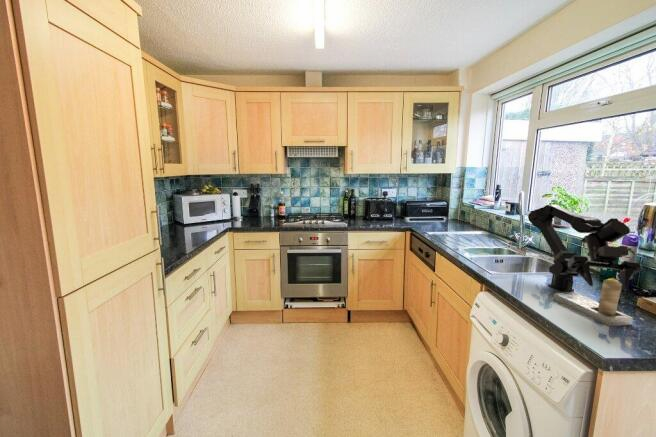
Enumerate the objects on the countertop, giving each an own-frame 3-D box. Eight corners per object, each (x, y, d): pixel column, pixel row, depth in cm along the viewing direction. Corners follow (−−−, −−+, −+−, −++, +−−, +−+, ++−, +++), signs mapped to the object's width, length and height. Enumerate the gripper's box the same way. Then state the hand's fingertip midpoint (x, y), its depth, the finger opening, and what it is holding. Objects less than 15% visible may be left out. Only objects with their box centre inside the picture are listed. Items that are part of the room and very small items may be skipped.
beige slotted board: (553, 299, 113) (554, 293, 113) (572, 298, 115) (573, 292, 115) (608, 326, 95) (610, 319, 94) (631, 324, 96) (632, 317, 96)
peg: (592, 315, 102) (600, 280, 99) (603, 314, 102) (610, 279, 100) (606, 322, 97) (614, 285, 95) (617, 321, 98) (625, 284, 96)
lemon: (609, 294, 120) (613, 275, 119) (623, 300, 114) (627, 281, 113) (596, 294, 120) (600, 275, 118) (609, 300, 114) (613, 280, 113)
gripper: (577, 233, 104) (585, 273, 96) (645, 239, 98) (660, 282, 90) (564, 249, 113) (571, 286, 105) (626, 255, 107) (638, 296, 99)
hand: (608, 287), depth 99 cm, fingers open, 9 cm apart
